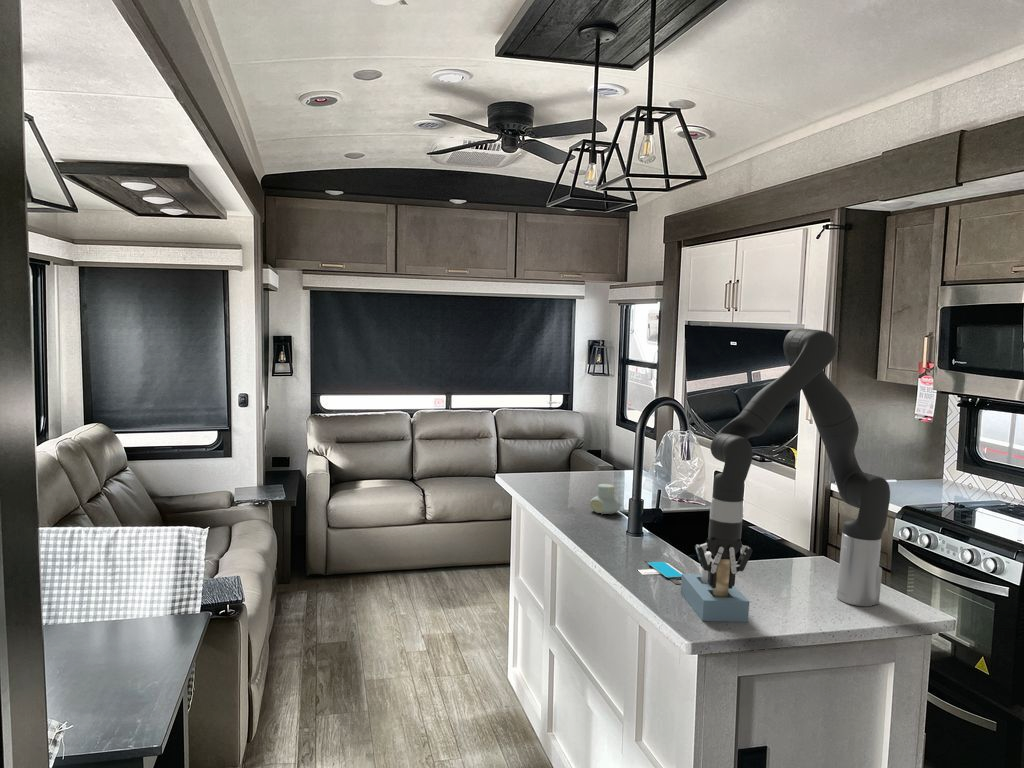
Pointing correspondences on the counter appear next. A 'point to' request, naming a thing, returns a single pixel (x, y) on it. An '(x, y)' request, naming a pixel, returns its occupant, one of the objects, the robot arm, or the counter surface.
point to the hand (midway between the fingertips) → (720, 586)
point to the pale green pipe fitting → (605, 500)
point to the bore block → (713, 599)
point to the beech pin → (722, 579)
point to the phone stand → (663, 570)
